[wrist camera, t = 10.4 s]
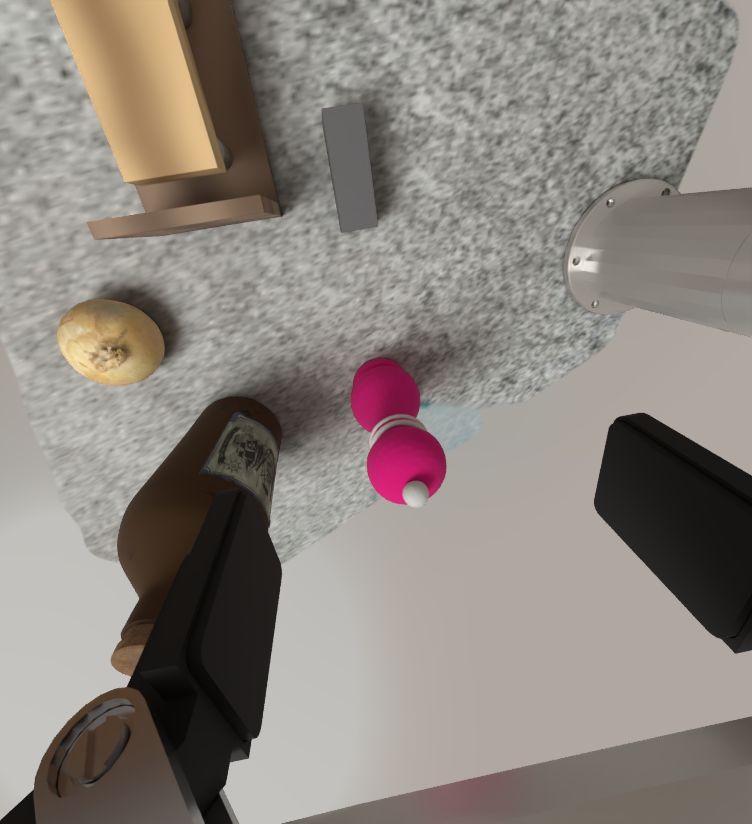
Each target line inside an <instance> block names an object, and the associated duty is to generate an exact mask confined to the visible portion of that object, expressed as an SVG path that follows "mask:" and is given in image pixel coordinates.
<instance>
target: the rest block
mask: <svg viewBox="0 0 752 824" xmlns="http://www.w3.org/2000/svg"><path fill="white" fill-rule="evenodd" d="M322 125H323V131H324V136H325V142H326V148H327V154H328V160H329V166H330V171H331V177H332V183H333V189H334V195H335V201H336V207H337V212H338V218H339V224H340V230H341V232H342V233H343V232H349V231H355V230H361V229H367V228H373V227H378V222H377V214H376V206H375V198H374V190H373V181H372V173H371V165H370V157H369V149H368V141H367V133H366V125H365V117H364V109H363V103H356V104H350V105H343V106H336V107H330V108H323V109H322Z"/></svg>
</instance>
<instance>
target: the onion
mask: <svg viewBox="0 0 752 824" xmlns="http://www.w3.org/2000/svg"><path fill="white" fill-rule="evenodd" d="M57 339H58V344H59V347H60V350H61V352H62V354H63V355H64V357H65V358H66V360H67V361H68V362H69V363H70V364H71V366H72V367H73V368H74V369H75V370H77V371H78V372H79V373H80V374H82V375H83V376H85V377H87V378H89V379H91V380H93V381H96V382H99V383H102V384H107V385H114V386H123V385H129V384H133V383H137V382H140V381H143V380H145V379H146V378H148V377H149V376H150V375H151V374H153V373H154V371H155V370H156V369H157V368H158V367H159V365H160V364H161V362H162V360H163V357H164V351H165V346H164V340H163V336H162V334H161V332H160V330H159V328H158V326H157V325H156V324H155V322H154V321H153V320H152V319H151V318H150V317H149V316H147V315H146V314H145V313H144V312H142V311H141V310H139V309H138V308H136V307H134V306H131V305H129V304H126V303H123V302H118V301H113V300H104V299H96V300H88V301H85V302H82V303H79V304H77V305H76V306H74V307H73V308H71V309H70V310H69V311H68V312H67V313H66V314H65V315H64V316H63V318H62V319H61V321H60V323H59V326H58V331H57Z"/></svg>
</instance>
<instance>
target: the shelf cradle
mask: <svg viewBox="0 0 752 824" xmlns="http://www.w3.org/2000/svg"><path fill="white" fill-rule="evenodd" d="M177 3H178V6H179V10H180V13H181V17H182V20H183V24H184V27H185V30H186V34H187V37H188V41H189V44H190V48H191V51H192V54H193V58H194V61H195V65H196V68H197V72H198V75H199V79H200V82H201V85H202V89H203V92H204V96H205V99H206V103H207V106H208V109H209V113H210V116H211V120H212V123H213V127H214V130H215V133H216V137H217V140H218V144H219V147H220V151H221V154H222V157H223V161H224V164H225V168H226V171H227V173H221V174H215V175H209V176H203V177H197V178H190V179H184V180H178V181H172V182H165V183H159V184H153V185H147V186H139V185H135V187H136V189H137V192H138V194H139V197H140V199H141V202H142V204H143V207H144V209H145V212H146V213H142V214H135V215H129V216H123V217H116V218H110V219H104V220H98V221H91V222H87V224H88V227H89V229H90V231H91V233H92V235H93V237H94V239H95V240H99V239H117V238H135V237H153V236H164V235H170V234H176V233H182V232H188V231H195V230H201V229H207V228H213V227H219V226H225V225H232V224H238V223H244V222H250V221H256V220H262V219H269V218H275V217H281V216H282V214H281V209H280V205H279V201H278V197H277V192H276V188H275V184H274V180H273V176H272V171H271V167H270V163H269V159H268V155H267V150H266V146H265V142H264V138H263V134H262V129H261V125H260V121H259V117H258V113H257V108H256V104H255V100H254V96H253V91H252V87H251V83H250V79H249V75H248V70H247V66H246V62H245V58H244V54H243V49H242V45H241V41H240V37H239V33H238V28H237V24H236V20H235V16H234V11H233V7H232V3H231V0H177Z"/></svg>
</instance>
